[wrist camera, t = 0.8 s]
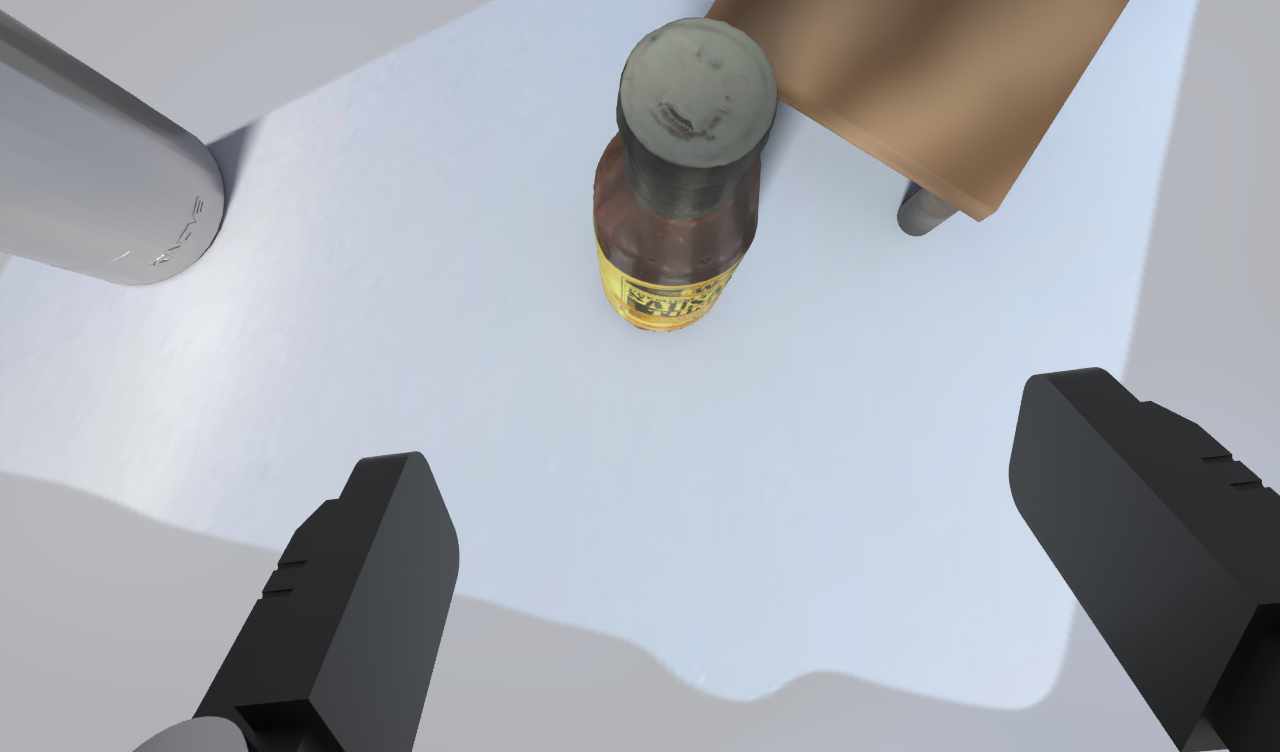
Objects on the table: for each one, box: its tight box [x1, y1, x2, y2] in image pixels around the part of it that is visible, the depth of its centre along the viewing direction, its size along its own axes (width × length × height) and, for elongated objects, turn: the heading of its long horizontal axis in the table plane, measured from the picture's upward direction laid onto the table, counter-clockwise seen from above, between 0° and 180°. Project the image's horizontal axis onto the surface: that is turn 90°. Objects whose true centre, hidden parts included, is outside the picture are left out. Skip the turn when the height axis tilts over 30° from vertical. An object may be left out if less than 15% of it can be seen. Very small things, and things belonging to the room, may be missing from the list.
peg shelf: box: [705, 0, 1129, 236], centre depth 34 cm, size 15×13×8 cm
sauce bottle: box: [593, 18, 778, 332], centre depth 27 cm, size 7×6×20 cm
